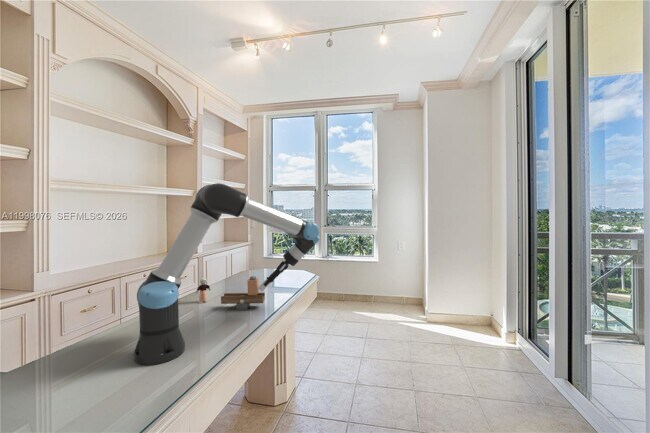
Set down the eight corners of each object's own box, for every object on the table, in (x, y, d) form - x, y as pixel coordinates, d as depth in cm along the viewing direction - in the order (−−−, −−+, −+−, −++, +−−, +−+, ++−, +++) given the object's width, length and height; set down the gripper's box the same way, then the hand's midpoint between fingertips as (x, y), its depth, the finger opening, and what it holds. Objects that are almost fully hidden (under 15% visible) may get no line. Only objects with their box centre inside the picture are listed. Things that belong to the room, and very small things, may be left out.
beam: (262, 309, 146) (262, 296, 146) (220, 310, 146) (220, 296, 146) (265, 305, 153) (264, 292, 153) (225, 305, 153) (225, 292, 153)
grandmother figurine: (199, 304, 155) (198, 279, 154) (195, 303, 157) (194, 278, 157) (212, 300, 161) (212, 277, 160) (208, 299, 163) (208, 276, 163)
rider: (256, 298, 147) (256, 277, 147) (247, 298, 147) (247, 278, 147) (258, 295, 152) (258, 275, 151) (249, 295, 152) (249, 275, 151)
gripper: (298, 263, 143) (263, 298, 143) (300, 258, 156) (267, 291, 156) (286, 252, 143) (251, 287, 143) (289, 248, 156) (257, 280, 156)
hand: (260, 289), depth 150 cm, fingers closed
